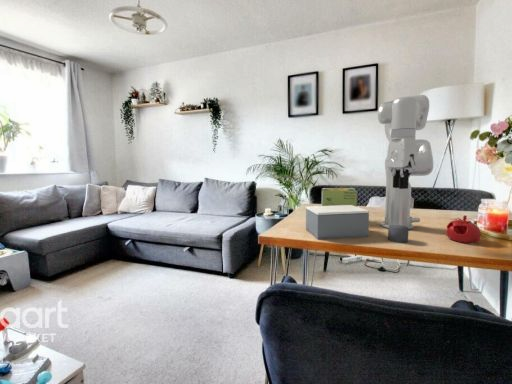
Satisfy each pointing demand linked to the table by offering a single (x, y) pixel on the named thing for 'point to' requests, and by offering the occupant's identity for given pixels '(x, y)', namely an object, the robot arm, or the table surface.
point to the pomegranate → (463, 231)
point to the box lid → (336, 209)
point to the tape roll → (398, 233)
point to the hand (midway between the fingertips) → (400, 187)
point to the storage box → (337, 225)
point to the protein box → (339, 196)
